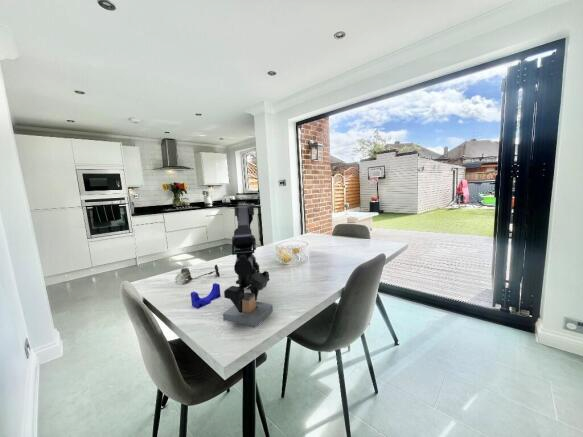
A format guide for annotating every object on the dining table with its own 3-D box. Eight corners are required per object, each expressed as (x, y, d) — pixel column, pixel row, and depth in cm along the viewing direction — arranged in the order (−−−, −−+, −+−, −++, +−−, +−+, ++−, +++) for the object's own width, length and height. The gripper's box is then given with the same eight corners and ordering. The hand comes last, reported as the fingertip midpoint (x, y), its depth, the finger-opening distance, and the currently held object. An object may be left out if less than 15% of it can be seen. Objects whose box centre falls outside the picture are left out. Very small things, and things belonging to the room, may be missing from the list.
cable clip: (197, 309, 97) (196, 295, 96) (192, 306, 100) (190, 292, 99) (222, 297, 106) (221, 285, 106) (216, 295, 109) (215, 282, 108)
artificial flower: (220, 280, 130) (217, 265, 126) (176, 292, 124) (171, 276, 120) (219, 271, 138) (216, 256, 134) (178, 281, 132) (173, 267, 128)
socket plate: (223, 319, 88) (222, 313, 88) (243, 304, 99) (242, 299, 98) (255, 327, 82) (255, 320, 82) (272, 310, 93) (272, 304, 93)
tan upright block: (241, 316, 89) (239, 296, 88) (247, 311, 93) (246, 292, 92) (250, 318, 88) (248, 298, 87) (256, 313, 91) (254, 293, 90)
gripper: (248, 278, 76) (252, 323, 78) (276, 260, 93) (278, 298, 95) (221, 274, 81) (225, 317, 83) (252, 258, 98) (255, 294, 100)
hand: (248, 306), depth 90 cm, fingers open, 9 cm apart
